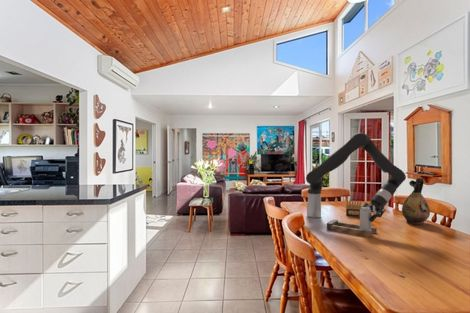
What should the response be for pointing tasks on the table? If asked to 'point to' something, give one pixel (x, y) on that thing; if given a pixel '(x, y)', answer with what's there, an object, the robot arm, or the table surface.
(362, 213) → the energy drink can
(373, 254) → the table surface
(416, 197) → the ceramic jug
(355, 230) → the channel
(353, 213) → the ammunition clip
